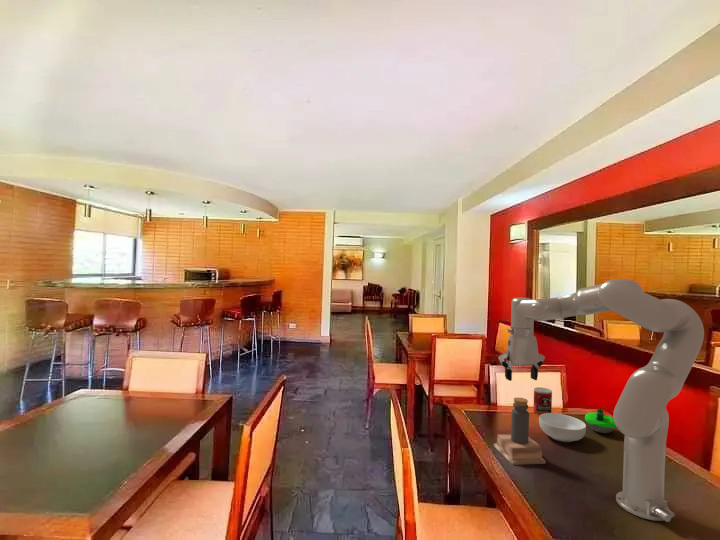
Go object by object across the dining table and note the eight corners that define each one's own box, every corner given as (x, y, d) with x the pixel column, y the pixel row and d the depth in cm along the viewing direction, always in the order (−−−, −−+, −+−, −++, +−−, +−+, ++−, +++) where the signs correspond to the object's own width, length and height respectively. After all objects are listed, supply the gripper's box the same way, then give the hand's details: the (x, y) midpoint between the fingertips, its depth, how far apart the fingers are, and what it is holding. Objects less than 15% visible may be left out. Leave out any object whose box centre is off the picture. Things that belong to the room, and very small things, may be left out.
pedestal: (545, 463, 136) (545, 449, 136) (512, 464, 134) (513, 450, 134) (523, 445, 150) (524, 432, 150) (493, 446, 148) (494, 432, 148)
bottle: (530, 445, 138) (531, 402, 138) (512, 443, 140) (513, 401, 139) (526, 438, 144) (527, 397, 144) (509, 436, 145) (510, 396, 145)
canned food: (536, 415, 180) (536, 391, 180) (531, 409, 188) (532, 386, 188) (553, 417, 179) (554, 393, 179) (548, 410, 187) (549, 387, 187)
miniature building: (617, 440, 156) (618, 413, 156) (583, 432, 163) (585, 406, 162) (616, 429, 167) (617, 404, 166) (584, 423, 173) (586, 398, 172)
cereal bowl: (565, 450, 146) (566, 431, 146) (529, 433, 161) (529, 416, 161) (595, 443, 153) (596, 425, 153) (558, 426, 168) (558, 410, 168)
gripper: (504, 333, 137) (503, 383, 137) (550, 333, 139) (549, 382, 139) (494, 330, 144) (493, 377, 144) (538, 330, 146) (537, 376, 146)
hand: (521, 379), depth 142 cm, fingers open, 9 cm apart
